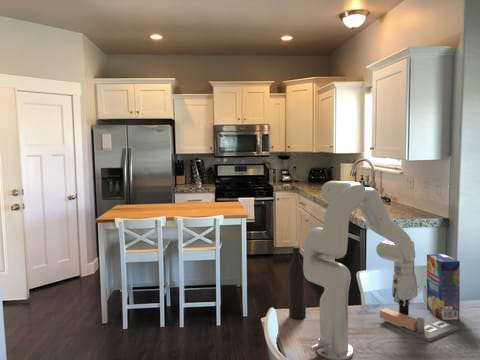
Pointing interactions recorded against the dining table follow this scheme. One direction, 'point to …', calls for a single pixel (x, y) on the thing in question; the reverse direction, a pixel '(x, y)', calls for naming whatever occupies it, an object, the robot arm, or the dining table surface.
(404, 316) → the swing bar
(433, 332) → the label board
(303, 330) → the dining table surface
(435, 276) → the juice carton
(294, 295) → the wine bottle
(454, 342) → the dining table surface
